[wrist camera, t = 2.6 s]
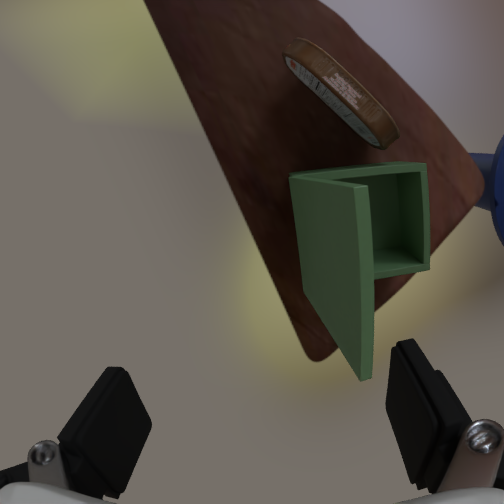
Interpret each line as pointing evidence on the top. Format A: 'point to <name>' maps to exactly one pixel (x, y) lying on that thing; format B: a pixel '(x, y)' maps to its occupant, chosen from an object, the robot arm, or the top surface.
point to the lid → (338, 262)
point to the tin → (341, 93)
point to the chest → (391, 212)
